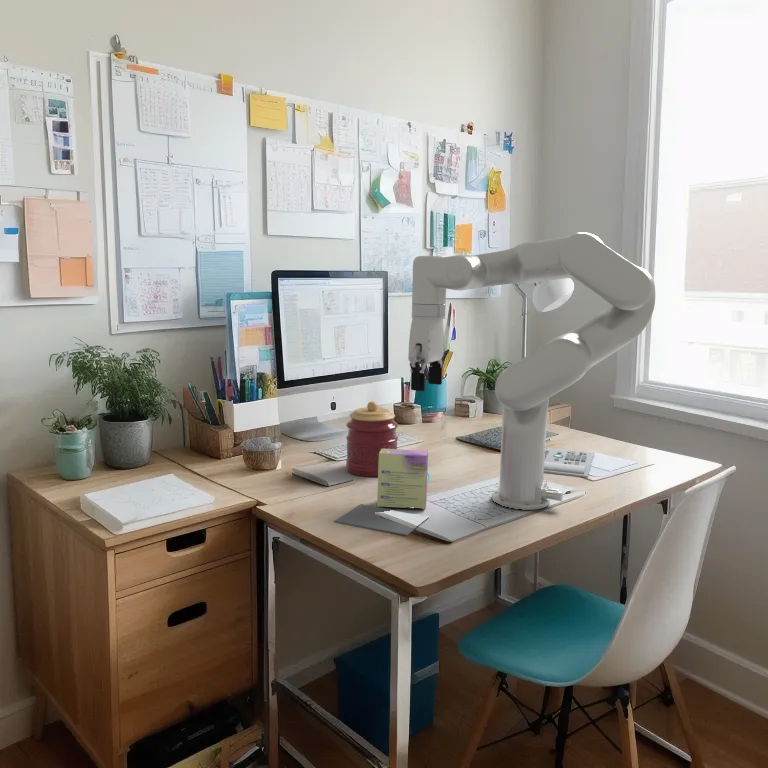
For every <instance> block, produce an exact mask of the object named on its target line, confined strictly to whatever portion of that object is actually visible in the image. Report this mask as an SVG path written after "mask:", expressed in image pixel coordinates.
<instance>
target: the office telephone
mask: <svg viewBox="0 0 768 768" xmlns="http://www.w3.org/2000/svg"><path fill="white" fill-rule="evenodd" d="M594 454H596V453H595V451H586V450H585V451H584V450H575V449H568V448H567V449H566V448H556V447H555V448H548V447H547V448H546V447H545V462H544V474H552V475H560V476H568V477H569V476H570V477H577V478H578V477H579V478H586V479H587V478H589V475H590V470H591V468H590V467H592V464H593V460H594V458H595V455H594ZM593 457H594V458H593ZM592 459H593V460H592ZM591 463H592V464H591ZM588 474H589V475H588Z"/></svg>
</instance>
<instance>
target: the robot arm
mask: <svg viewBox="0 0 768 768" xmlns="http://www.w3.org/2000/svg"><path fill="white" fill-rule="evenodd" d="M570 278H574V279H575V280H576V281H577V282H579V283H580V284H582V285H583V286H584V287H585V288H587V289H588V290H590V291H591V292H592V293H594V294H596V295H597V296H599V297H600V298H601V299H603V300H604V301H606V302H607V303H609V304H608V305H607V307H606V308H604V309H603V310H602V311H601V312H599V313H598V314H596V315H594V316H593V317H590V319H588V320H587V321H585V322H584V323H582V324H580V325H579V326H577V327H575V328H573V329H572V330H570V331H568V332H566V333H564V334H563V333H562V334H561V335H559V336H556V337H555V338H553V339H551V340H550V341H548V342H547V343H545V344H544V345H542V346H540V347H539V348H537V349H536V350H534V351H532V352H531V353H529V354H528V355H526V356H524V357H523V358H521V359H519V360H517V361H515V362H513V363H512V364H510V365H509V366H508V367H506V368H504V370H502V371H501V372H500V374H498V376H497V379H496V381H495V384H494V385H495V387H494V391H495V397H496V399H497V401H498V402H499V404H501V405H502V407H503V411H502V419H501V420H502V423H501V439H500V441H501V442H500V463H499V488H498V489H497V490H495V491H493V492H492V493H491V500H492V499H493V500H492V502H493V501H494V502H493V503H495V502H496V503H498V504H500V505H502V506H501V507H503V506H505V507H504V508H506V507H509V508H508V509H511V508H514V509H513V510H518V509H522V510H521V511H534V510H539V509H543V508H546V507H548V506H549V505H550V500H553V501H557V502H562V501H563V496H564V494H563V492H562V491H560V489H558V488H551V487H549V486H548V481H547V480H544V478H545V477H544V475H545V473H544V462H545V448H546V442H547V439H546V438H547V427H548V426H547V425H548V424H547V423H548V411H549V403H550V398H551V397H553V396H555V395H557V394H558V393H559V392H561V391H563V390H565V389H567V388H569V387H571V385H573V384H574V383H576V382H578V381H579V380H581V378H583V377H584V376H585V375H586V373H588V371H589V370H590V369H591V368H592V367H594V366H595V365H597V364H598V363H600V362H602V361H604V360H605V359H607V358H608V357H610V356H612V355H613V354H615V353H616V352H618V351H619V350H621V349H622V348H624V347H625V346H628V344H629V343H631V342H633V341H634V340H635V339H636V338H637V337H638V336H639V335H640V334H641V333H642V332H643V331H644V330H645V329H646V327H647V325H648V323H649V322H650V320H651V318H652V316H653V313H654V310H655V306H656V305H655V304H656V286H655V280H654V278H653V276H652V274H651V273H650V272H649V271H648V270H647V269H645V268H643V267H640V266H637V265H636V264H634V263H632V262H631V261H630V260H628V259H626V258H625V257H624V256H622V255H620V254H619V253H618V252H617V251H614V250H613V249H612V248H610V247H609V246H607V245H606V244H605V243H604V242H603V240H601V238H600V237H598V236H597V235H595V234H592V233H590V232H576V233H573V234H571V235H569V236H568V235H567V236H562V237H555V238H549V239H542V240H534V241H528V242H524V243H520V244H518V245H516V246H514V247H511V248H509V249H504V250H499V251H493V252H487V253H480V254H473V255H472V254H471V255H469V254H468V255H467V254H464V255H463V254H459V255H452V256H451V255H450V256H441V255H419V256H415V257H414V259H413V261H412V282H411V283H412V287H411V288H412V289H411V290H412V291H411V319H412V320H411V324H410V329H409V341H408V354H407V355H408V358H407V359H408V361H409V367H410V370H409V371H410V373H411V374H410V390H412V391H418V392H424V391H426V372H425V370H426V366H427V364H429V366H428V378H427V379H428V384H430V385H436V386H437V385H438V386H439V385H442V384H443V367H444V363H443V360H444V358H445V357H444V355H445V354H444V353H445V336H444V335H445V331H444V330H445V329H444V320H445V319H446V308H447V307H446V301H447V290H452V291H466V290H468V291H469V290H474V289H475V290H476V289H481V288H489V287H495V286H503V285H512V284H522V285H526V284H534V283H541V282H542V283H543V282H548V281H549V282H550V281H555V280H556V281H557V280H561V279H562V280H565V279H570ZM496 503H495V504H496ZM498 504H497V505H498ZM548 504H549V505H548ZM500 505H499V506H500ZM547 505H548V506H547Z"/></svg>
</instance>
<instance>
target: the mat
mask: <svg viewBox="0 0 768 768" xmlns="http://www.w3.org/2000/svg"><path fill="white" fill-rule="evenodd" d="M390 510H393V509H392V508H388V507H378V506H375V505H369V504H363V503H360V504H359V505H357V506H355V507H354V508H352V509H351V510H349V511H348V512H346V513H344V514H343V515H341V516H340V517H338V518H336V519H335V520H334V523H338V524H343V525H349V526H354V527H359V528H364V529H367V530H368V529H369V530H375V531H380V532H385V533H390V534H394V535H399V536H406V537H408V536H409V535H410V534H411V533H413V532H414V531H415V530H414V528H410V527H408V526H405V525H402V524H398V523H395V522H393V521H390V520H387V519H384V518H381V517H379V516H377V515H375V512H384V511H390Z"/></svg>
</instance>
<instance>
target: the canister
mask: <svg viewBox="0 0 768 768" xmlns="http://www.w3.org/2000/svg"><path fill="white" fill-rule="evenodd" d="M349 418H351V419H350V420H349V421H347V422H346V424H345V425H346V427H347V428H348V432H347V433H348V434H347V435H346V437H345V439H346V460H345V463H346V464H345V465H346V470H347V472H349V473H350V474H353V475H356V476H362V477H378V464H379V452H380V451H381V449H382V448H384V449H398V440H399V437H398V435H397V428H398V427H399V424H398V423H397V422H396V421H395V420H394V418H396V415H395V413H393V412H391V411H390V410H389V409H388V408H385V407H378V403H377V402H376V401H372V400H371V401H369V402H368V403H367V405H366V407H360V408H357V409H355V410H354V411H353V412H351V413H349Z"/></svg>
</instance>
